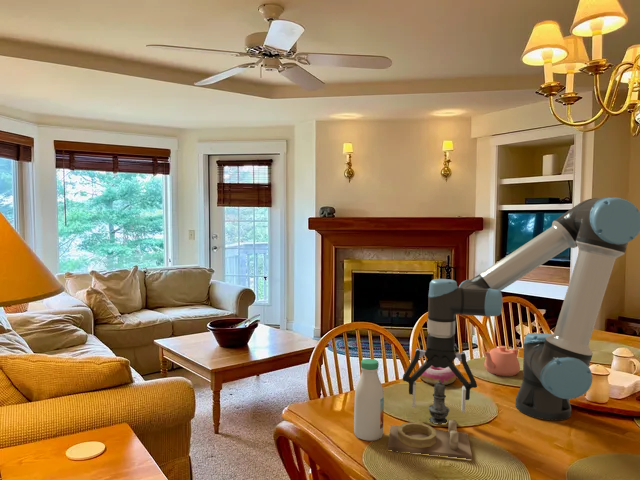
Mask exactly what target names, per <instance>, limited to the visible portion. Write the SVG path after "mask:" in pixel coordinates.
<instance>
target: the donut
mask: <svg viewBox="0 0 640 480" xmlns="http://www.w3.org/2000/svg"><path fill="white" fill-rule="evenodd" d="M422 365H423V364H422ZM422 365H420V366H419V368H420V367H421V366H422ZM419 378H420V379H421V380H422V381H424V382H425V383H427V384H431V385H435V383H438V382H439V380H441V383H443V384H444V385H445V386H446V385H450V384H452V383H453V382H455V381H456V379H458V378H457V376H456V375H455V374H454V373H453V371H452V370H451V369H450V368H449V367H446V368H441V367H437V368H436V367H434V366H431V367H430V368H428V369H427V370H426V371H425V372H424V373H423V374H422V375H421V376H420V377H419Z"/></svg>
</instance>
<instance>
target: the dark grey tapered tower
mask: <svg viewBox="0 0 640 480" xmlns="http://www.w3.org/2000/svg"><path fill="white" fill-rule="evenodd" d="M433 385H434V387H433V389H434V390H433V394H432V397H433V404H430V405H428V407H427V409H428V410H429V414H430V416H431V417H429V419H428V421H429V420H430V421H429V422H430V423H431V422H434V423H438V424H442V423H446V422H447V420H448V419H447V417H448V415H449V412H450V408H449V407H448V406H446V403H445V402H446V401H445V400H446V397H447V396H446V395H445V393H446V389H445V388H446V385H444V384H443V383H441V380H439V382H438V383H435V384H433Z"/></svg>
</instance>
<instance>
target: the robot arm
mask: <svg viewBox="0 0 640 480" xmlns="http://www.w3.org/2000/svg"><path fill="white" fill-rule="evenodd" d="M638 208H639V207H637V206H636V205H635V204H634V203H633V202H631V201H629V200H627V199H625V198H620V197H616V196H615V197H613V196H607V197H600V198H598V197H594V198H588V199H586V200H583V201H581V202H580V203H577V204H576V205H574V206H573V207H572V208H571V209H569V210H568V211H566V212H565V213H563V214H561V216H559V217H557V218H556V219H554V220H553V221H552V224H551V226H550V227H549V228H547V229H546V230H544V231H543V232H541V233H540V234H538V235H537V236H535V237H533V238H532V239H530V240H529V241H528V242H526V243H524V244H523V245H521V246H520V247H518V248H517V249H515V250H514V251H513V252H511V253H509V254H508V255H507V256H505V257H503V258H501V259H500V260H498V261H497V262H495V263H494V264H492V265H491V266H489V267H488V268H486V269H485V270H483V271H481V272H480V273H479V274H477V275H476V276H474V277H473V278H471V279H466V280H463V281H462V282H461V283H460V284H459V286H458V283H457V281H456V280H454V279H448V278H433V279H432V280H431V281H430V282H429V288H428V289H429V290H428V295H427V296H428V297H427V298H428V302H427V303H428V307H427V309H428V310H427V330H426V331H427V336H426V349H425V350H423V349H420V348H419V347H417V348H416V349H415V353H414V356H413V358H412V360H411V361H410V363H409V365H408V367H407V368H406V370H405V372H404V373H403V375H402V381H403V382H406V383H408V395H411V396H412V404H411V405H412V408H416V392H417V391H416V389H417V380H418V379H419V378H420V376H421V375H422V374H423V373H424V372H425V371H426V370H427V369H428V368H430V367H431V366H434V367H436V368H437V367H441V368H446V367H449V368H450V369H451V370H452V371H453V373H454V374H455V375H456V376H457V378H456V379H458V380H459V381H460V383H461V384H462V386H461V407H460V409H461V413H466V401H469V400H470V398H471V397H470V396H471V389H473V388H475V389H476V388H478V384H477V381H476V379H475V376H474V375H473V373H472V370H471V368H470V365H469V364H468V362H467V357H466V356H467V355H466V352H465V351H461V352H455V343H456V342H455V341H456V340H455V339H456V337H455V334H456V319H457V318H456V316H457V315H461V316H465V315H466V316H475V317H476V316H477V317H487V318H489V317H498V316H500V315H501V314H502V311H503V305H504V304H503V303H504V302H503V294H502V291H503V290H505V289H506V288H508V287H509V286H510V285H513V284H514V283H515V282H516V281H518V280H521V279H522V278H523V277H525V276H526V275H528V274H529V273H531V272H532V271H534V270H536V269H537V268H539V267H540V266H542V265H544V264H545V263H547V262H548V261H550V260H552V259H553V258H555V257H557V255H560V253H563V252H564V251H565V250H567V249H568V248H569V249H575V248H577V247H578V250H579V251H578V253H577V256H576V260H575V264H574V267H573V269H572V274H571V277H570V280H569V283H568V287H567V290H566V292H565V296H564V299H563V302H562V305H561V310H560V312H559V315H558V319H557V322H556V326H555V329H554V331H553V334H552V333H538V332H535V333H533V332H532V333H527V334H526V335H525V336H524V341H523V360H522V361H523V363H522V365H523V366H522V382H521V385H520V387H519V389H518V391H517V394H516V397H515V408H516V409H517V410H518V411H519V412H521V413H523V414H525V415H527V416H530V417H532V418H534V419H535V418H537V419H539V420H540V419H541V420H545V421H546V420H547V421H563V420H568V419H569V418H570V417H571V416H572V406H571V403H570V400H573V399H576V398H579V397H583V395H585V394H587V392H588V391H590V388H591V386H592V384H593V374H592V370H591V369H590V363H591V361H592V357H593V351H592V350H591V348H590V346H589V344H590V341H591V338H592V335H593V331H594V329H595V325H596V323H597V319H598V316H599V313H600V311H601V307H602V304H603V300H604V296H605V293H606V291H607V288H608V285H609V282H610V278H611V275H612V271H613V268H614V265H615V262H616V259H618V258H619V257H622V256H624V255H625V253H626V250H627V247H628V244H629V242H631V241H633V240H634V239H636V238H637V236H638V235H639V234H640V210H639V209H638ZM423 356H425V358H426V360H425V361H424V363H423V364H422V366H421V365H420V366H421V367H420V366H419V368H417V370H416V371H415V372H414V373H412V372H413V371H414V368H416V367H415V366H416V365H417V363H418V362H419V360H420V359H421V358H423ZM456 358H457V359H458V361H459V362H461V363H462V366H463V367H462V368H464V371H465V373H466V375H467V378H468V379H469V381H468V380H467V378H466V377H465V376H464V375H463V374H462V372H461V371H460V370H459V368H458V367H457V366H456V365H455V363H454V361H455V360H456ZM411 373H412V375H411Z"/></svg>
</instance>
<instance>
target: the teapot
mask: <svg viewBox="0 0 640 480" xmlns="http://www.w3.org/2000/svg"><path fill="white" fill-rule="evenodd" d="M484 353H485V360H484V364H483V365H484V368H485V370H486V371H487V372H488V371H489V372H488V373H491V374H492V373H493V374H492V375H495V374H496V376H499V377H513V375H514V376H516V375H517V374H519V373H520V370H521V365H520V361H519V358H518V354H519V350H518V349H517V348H512V349H508V348H507V347H506V346H505V345H500V346H498V347H494V348H491V349H490V351H489V352H488V351H484Z"/></svg>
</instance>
